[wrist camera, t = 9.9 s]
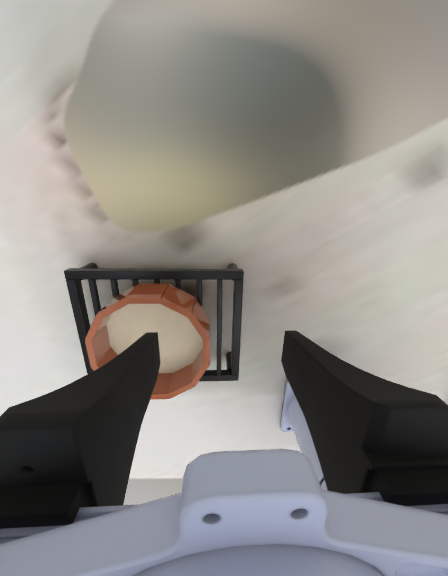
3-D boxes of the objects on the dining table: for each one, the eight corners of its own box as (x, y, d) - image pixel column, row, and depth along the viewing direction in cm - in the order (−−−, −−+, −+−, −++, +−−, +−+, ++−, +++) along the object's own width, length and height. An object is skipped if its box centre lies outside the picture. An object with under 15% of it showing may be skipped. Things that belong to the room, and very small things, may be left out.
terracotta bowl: (209, 283, 19) (209, 297, 16) (210, 372, 22) (209, 397, 19) (95, 283, 18) (74, 297, 15) (112, 375, 21) (97, 401, 18)
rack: (239, 262, 22) (243, 271, 19) (235, 359, 25) (238, 380, 22) (84, 261, 21) (63, 271, 18) (104, 362, 25) (89, 384, 22)
